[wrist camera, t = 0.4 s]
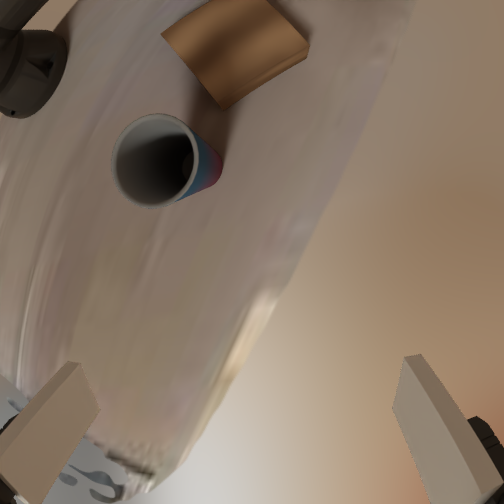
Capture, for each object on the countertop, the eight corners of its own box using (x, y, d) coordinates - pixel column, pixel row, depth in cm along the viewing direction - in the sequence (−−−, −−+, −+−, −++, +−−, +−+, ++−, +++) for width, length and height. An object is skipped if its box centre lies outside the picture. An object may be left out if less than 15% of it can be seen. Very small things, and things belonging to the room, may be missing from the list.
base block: (170, 46, 30) (160, 33, 27) (248, -2, 28) (245, -18, 24) (223, 110, 32) (217, 102, 28) (306, 58, 30) (310, 45, 26)
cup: (176, 199, 35) (115, 214, 21) (171, 143, 34) (108, 124, 19) (232, 193, 35) (203, 203, 20) (227, 135, 33) (194, 105, 18)
